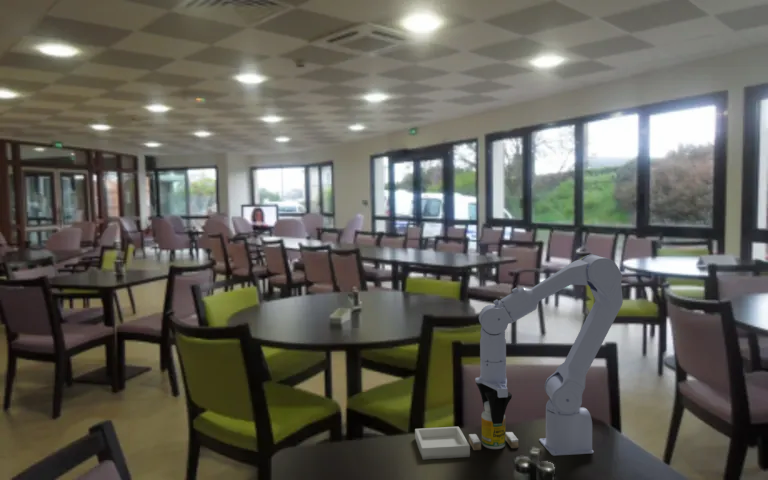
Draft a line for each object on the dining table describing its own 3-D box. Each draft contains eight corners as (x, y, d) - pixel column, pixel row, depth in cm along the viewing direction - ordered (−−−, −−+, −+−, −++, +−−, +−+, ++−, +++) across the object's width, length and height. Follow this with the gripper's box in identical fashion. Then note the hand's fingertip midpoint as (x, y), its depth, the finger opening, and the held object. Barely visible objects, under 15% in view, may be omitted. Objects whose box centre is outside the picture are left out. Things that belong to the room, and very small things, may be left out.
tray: (458, 436, 128) (458, 426, 128) (469, 456, 118) (469, 445, 118) (415, 439, 127) (415, 428, 127) (422, 459, 117) (422, 448, 117)
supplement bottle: (493, 437, 127) (493, 397, 127) (510, 445, 123) (510, 404, 122) (476, 443, 124) (476, 402, 124) (493, 452, 120) (493, 409, 119)
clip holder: (512, 439, 126) (512, 431, 126) (518, 447, 122) (518, 439, 122) (469, 441, 125) (468, 434, 125) (473, 450, 121) (473, 442, 121)
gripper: (467, 351, 129) (468, 407, 130) (484, 369, 115) (485, 432, 116) (496, 350, 130) (497, 405, 131) (517, 367, 116) (517, 430, 116)
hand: (493, 418), depth 123 cm, fingers closed on supplement bottle, 5 cm apart
